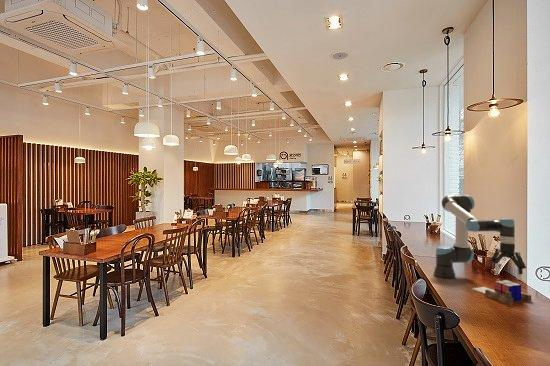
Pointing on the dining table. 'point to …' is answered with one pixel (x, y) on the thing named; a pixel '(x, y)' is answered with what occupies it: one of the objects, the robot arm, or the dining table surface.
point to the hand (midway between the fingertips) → (507, 276)
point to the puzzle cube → (509, 289)
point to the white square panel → (482, 289)
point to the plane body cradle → (506, 296)
